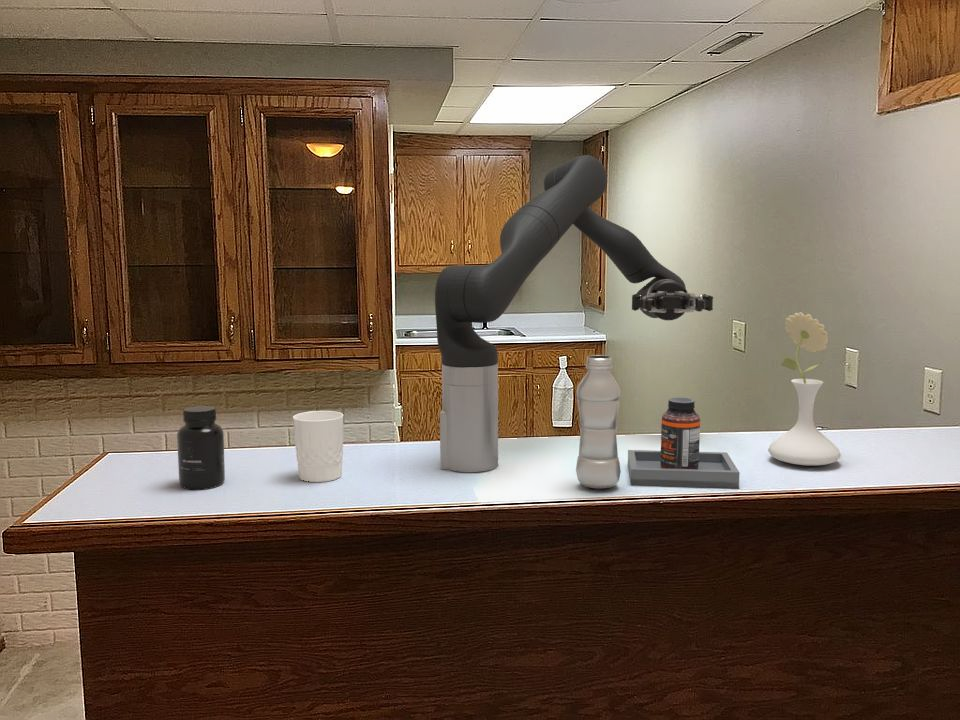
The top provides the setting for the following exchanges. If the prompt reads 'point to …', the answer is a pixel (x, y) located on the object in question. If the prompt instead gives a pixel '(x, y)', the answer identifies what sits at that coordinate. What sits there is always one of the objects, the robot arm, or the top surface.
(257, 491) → the top surface
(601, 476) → the plastic bottle
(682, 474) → the gray tray
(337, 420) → the white cup
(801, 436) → the flower in vase
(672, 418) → the supplement bottle
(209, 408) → the supplement bottle
